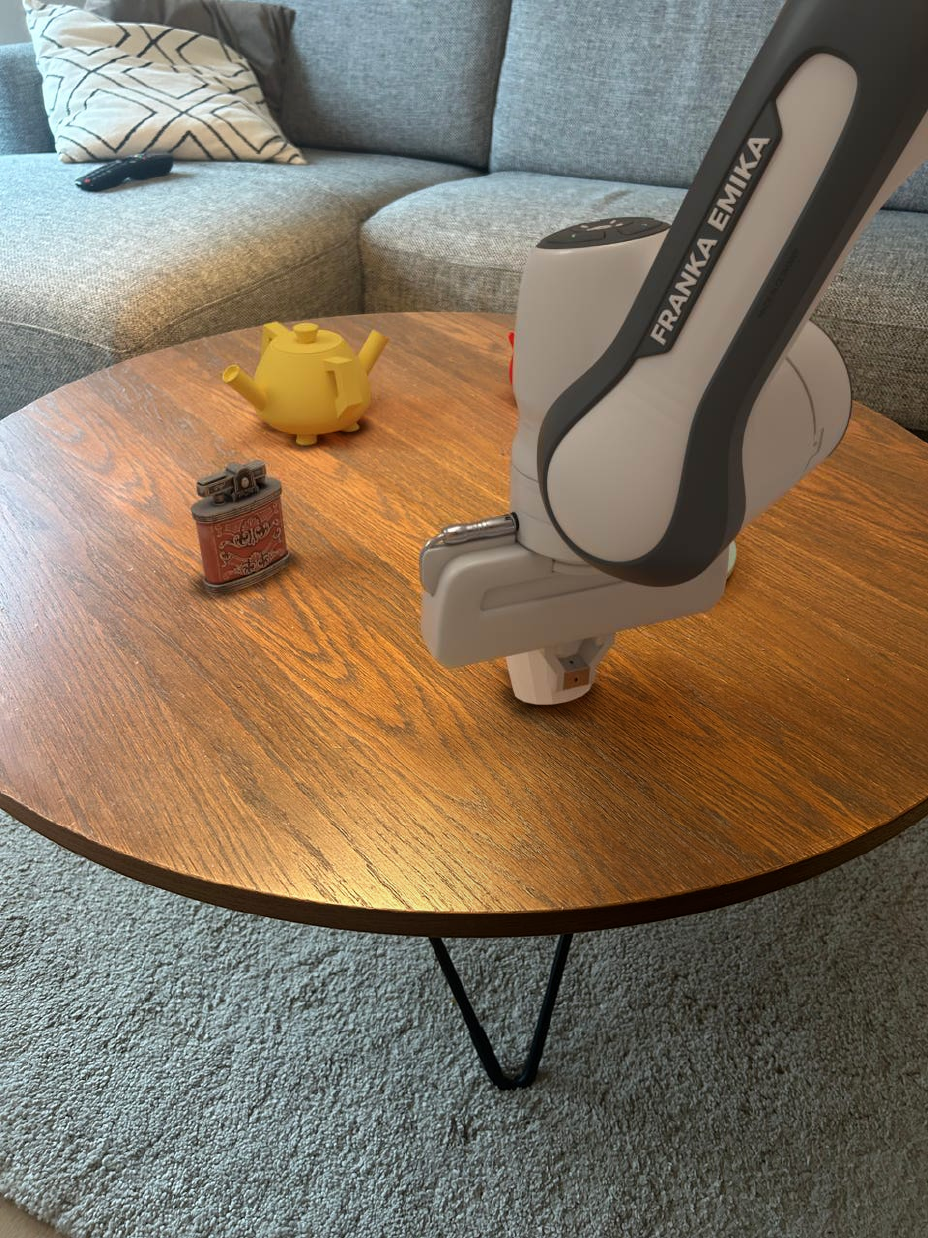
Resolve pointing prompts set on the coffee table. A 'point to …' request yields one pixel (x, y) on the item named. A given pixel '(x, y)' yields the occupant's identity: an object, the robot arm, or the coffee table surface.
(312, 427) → the teapot
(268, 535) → the lighter
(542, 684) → the shot glass
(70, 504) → the coffee table surface
